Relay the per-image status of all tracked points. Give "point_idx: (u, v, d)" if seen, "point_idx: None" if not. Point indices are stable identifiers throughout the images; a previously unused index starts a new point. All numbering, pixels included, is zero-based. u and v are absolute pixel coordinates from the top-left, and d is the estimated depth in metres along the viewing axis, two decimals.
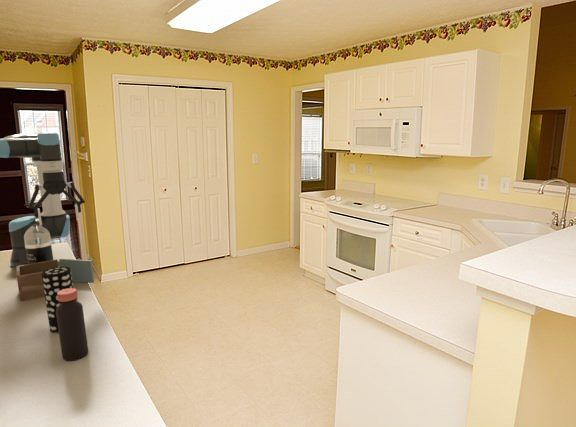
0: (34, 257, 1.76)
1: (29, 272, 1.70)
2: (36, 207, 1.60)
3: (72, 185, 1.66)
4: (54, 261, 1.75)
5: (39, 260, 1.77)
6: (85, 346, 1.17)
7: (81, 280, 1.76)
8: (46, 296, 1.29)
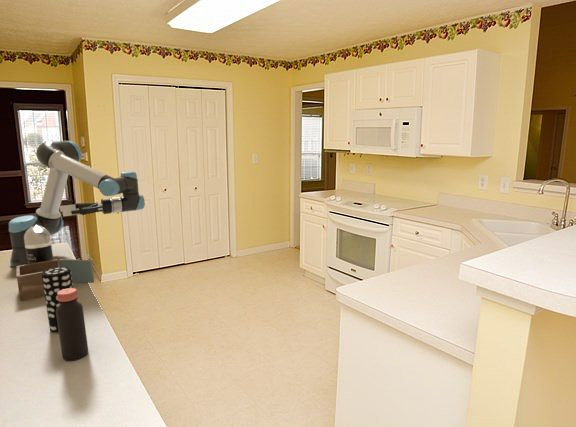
0: (34, 257, 1.76)
1: (29, 272, 1.70)
2: None
3: None
4: (54, 261, 1.75)
5: (39, 260, 1.77)
6: (85, 346, 1.17)
7: (81, 280, 1.76)
8: (46, 296, 1.29)
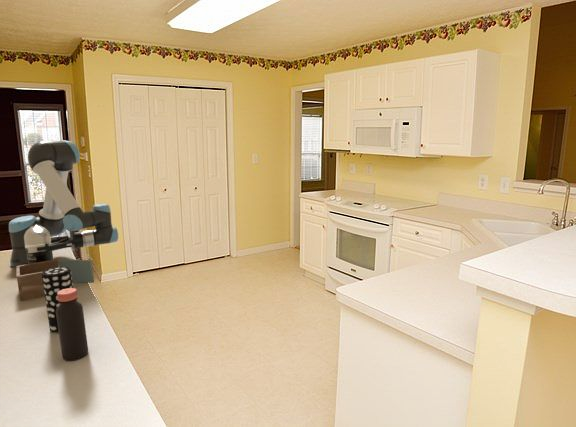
0: (34, 257, 1.76)
1: (29, 272, 1.70)
2: None
3: None
4: (54, 261, 1.75)
5: (39, 260, 1.77)
6: (85, 346, 1.17)
7: (81, 280, 1.76)
8: (46, 296, 1.29)
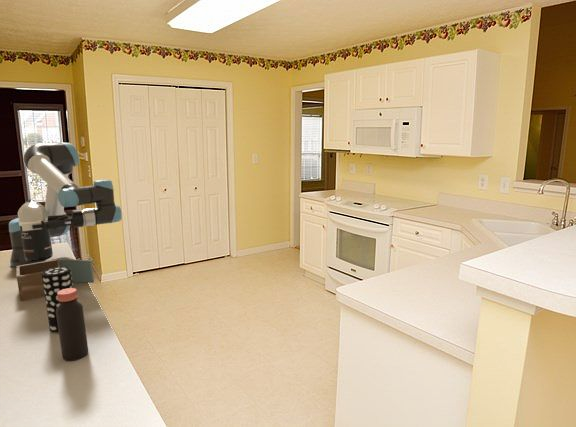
0: (29, 235, 1.59)
1: (29, 272, 1.70)
2: None
3: None
4: (54, 261, 1.75)
5: (35, 239, 1.60)
6: (85, 346, 1.17)
7: (81, 280, 1.76)
8: (46, 296, 1.29)
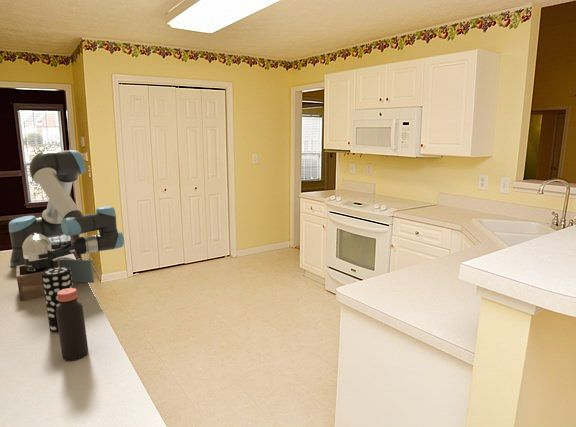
0: (33, 268, 1.61)
1: None
2: None
3: None
4: (54, 261, 1.75)
5: None
6: (85, 346, 1.17)
7: (81, 280, 1.76)
8: (46, 296, 1.29)
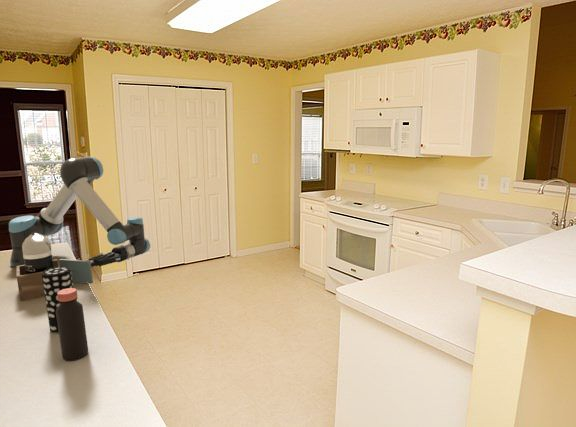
0: (33, 268, 1.61)
1: None
2: None
3: None
4: (54, 261, 1.75)
5: None
6: (85, 346, 1.17)
7: (80, 281, 1.75)
8: (46, 296, 1.29)
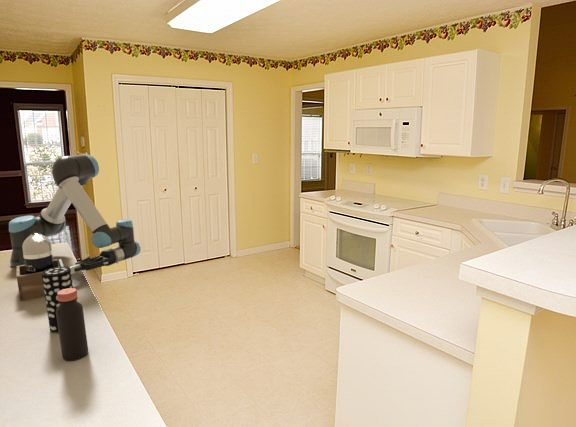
0: (33, 268, 1.61)
1: None
2: None
3: None
4: (54, 261, 1.75)
5: None
6: (85, 346, 1.17)
7: None
8: (46, 296, 1.29)
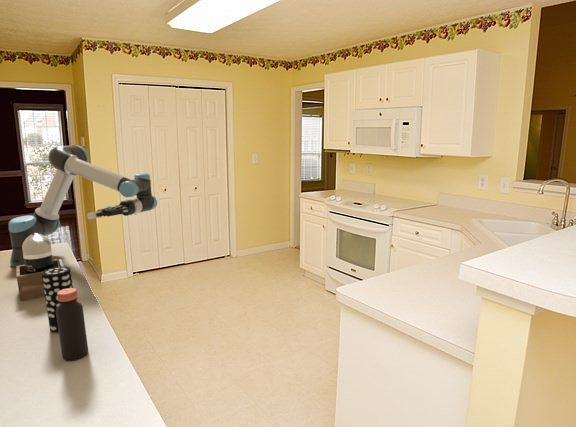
0: (33, 268, 1.61)
1: None
2: None
3: None
4: (54, 261, 1.75)
5: None
6: (85, 346, 1.17)
7: None
8: (46, 296, 1.29)
